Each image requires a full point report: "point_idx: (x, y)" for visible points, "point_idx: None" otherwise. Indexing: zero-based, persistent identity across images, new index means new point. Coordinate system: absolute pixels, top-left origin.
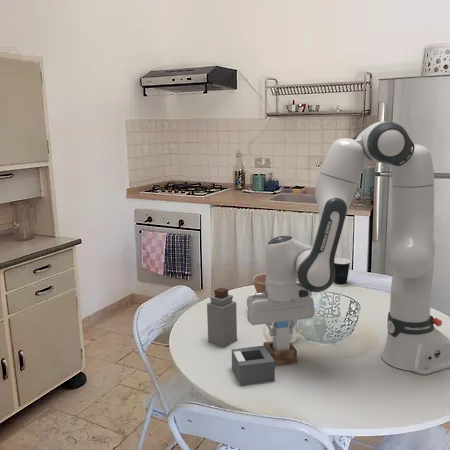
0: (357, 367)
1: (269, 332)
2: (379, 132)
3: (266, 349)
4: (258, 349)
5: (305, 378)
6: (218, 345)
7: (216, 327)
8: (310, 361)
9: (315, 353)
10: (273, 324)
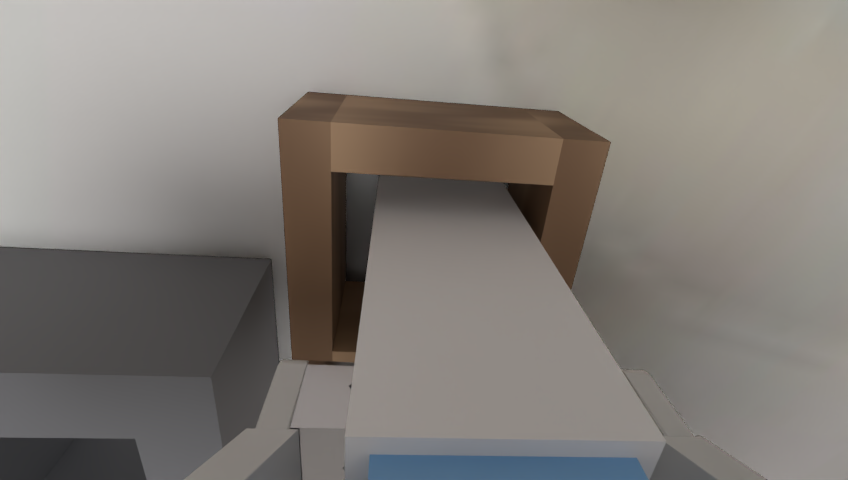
0: (807, 433)
1: (273, 390)
2: None
3: (216, 449)
4: (125, 433)
5: None
6: None
7: None
8: (618, 313)
9: (737, 220)
10: (348, 477)
